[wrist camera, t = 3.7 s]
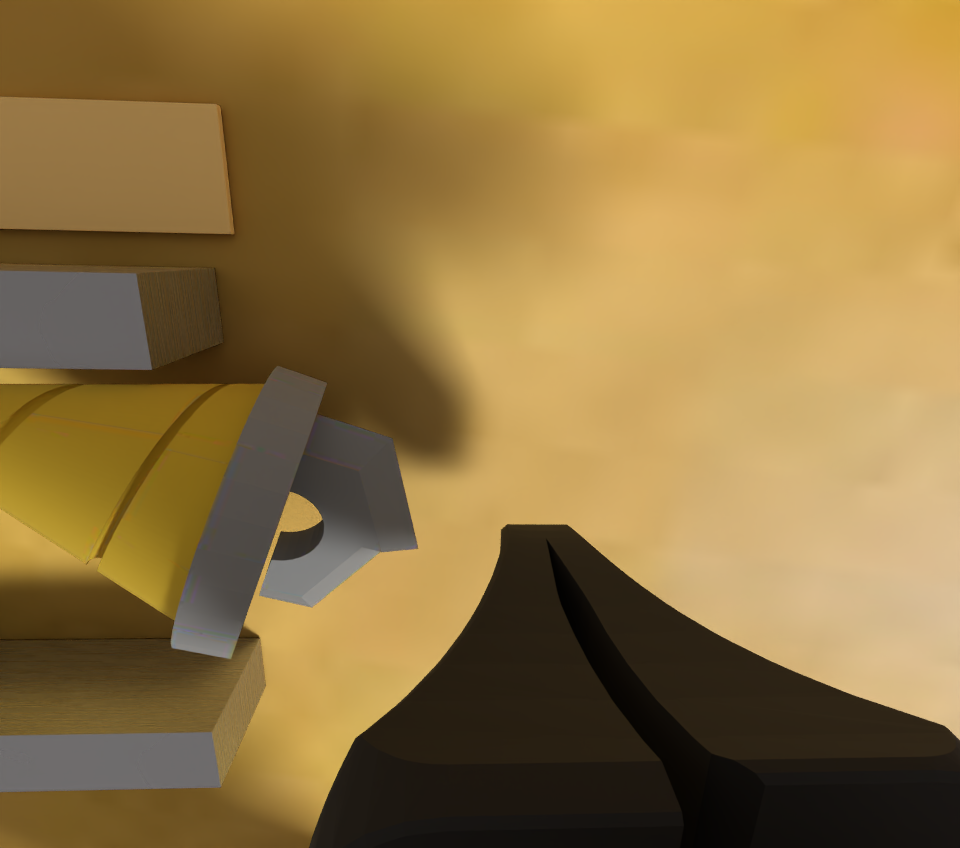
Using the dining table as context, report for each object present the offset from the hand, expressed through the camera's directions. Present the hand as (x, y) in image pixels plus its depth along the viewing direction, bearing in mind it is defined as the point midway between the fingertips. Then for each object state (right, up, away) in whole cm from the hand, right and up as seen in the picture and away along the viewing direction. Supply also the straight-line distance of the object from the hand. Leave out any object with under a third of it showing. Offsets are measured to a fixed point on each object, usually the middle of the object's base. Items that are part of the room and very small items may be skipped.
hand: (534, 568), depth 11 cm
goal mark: (-10, +8, 0) cm, 13 cm away
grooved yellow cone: (-2, 0, 0) cm, 2 cm away
